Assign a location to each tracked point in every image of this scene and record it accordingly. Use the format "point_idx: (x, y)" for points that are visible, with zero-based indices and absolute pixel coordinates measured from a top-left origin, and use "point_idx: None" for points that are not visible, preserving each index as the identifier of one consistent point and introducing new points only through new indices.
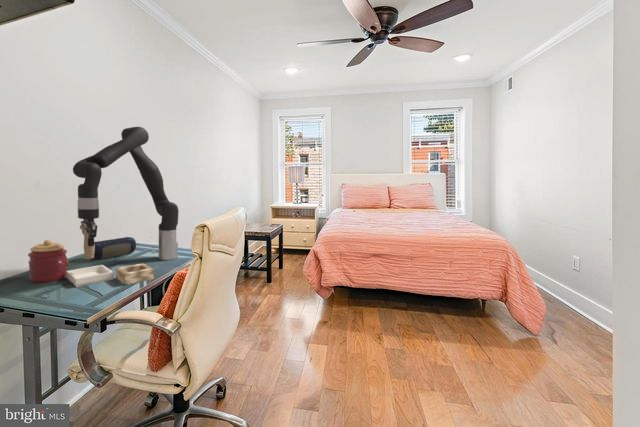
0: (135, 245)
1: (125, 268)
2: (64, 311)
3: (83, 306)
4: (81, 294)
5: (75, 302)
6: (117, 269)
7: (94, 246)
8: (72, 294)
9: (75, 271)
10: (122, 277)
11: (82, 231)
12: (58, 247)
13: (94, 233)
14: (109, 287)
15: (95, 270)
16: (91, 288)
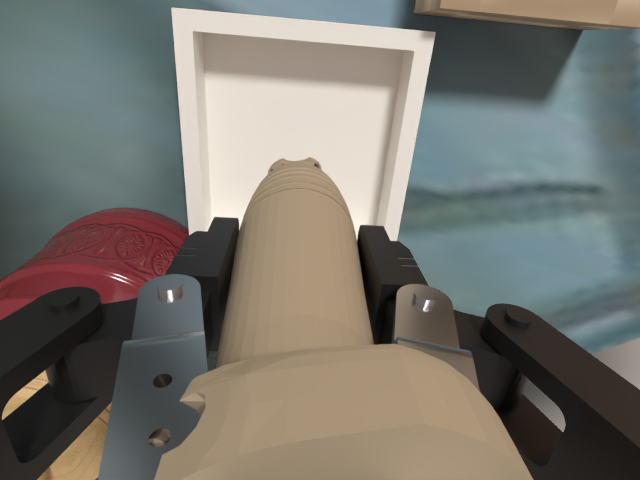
0: None
1: None
2: (603, 331)
3: (628, 280)
4: (498, 247)
5: (562, 288)
6: (479, 11)
7: (335, 197)
8: (464, 271)
9: (204, 202)
10: (560, 24)
11: (63, 413)
12: (110, 406)
13: (528, 372)
14: (528, 118)
15: (203, 75)
16: (460, 190)
